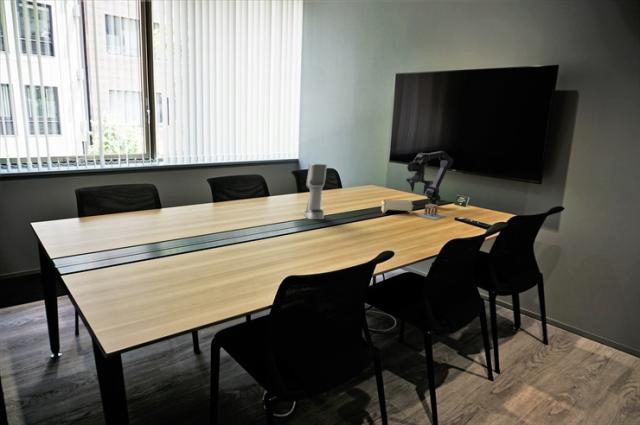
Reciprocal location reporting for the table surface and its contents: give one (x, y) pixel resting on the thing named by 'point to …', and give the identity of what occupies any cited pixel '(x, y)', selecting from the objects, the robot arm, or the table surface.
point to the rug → (431, 216)
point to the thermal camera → (315, 190)
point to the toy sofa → (397, 205)
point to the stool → (430, 209)
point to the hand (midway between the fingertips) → (418, 192)
